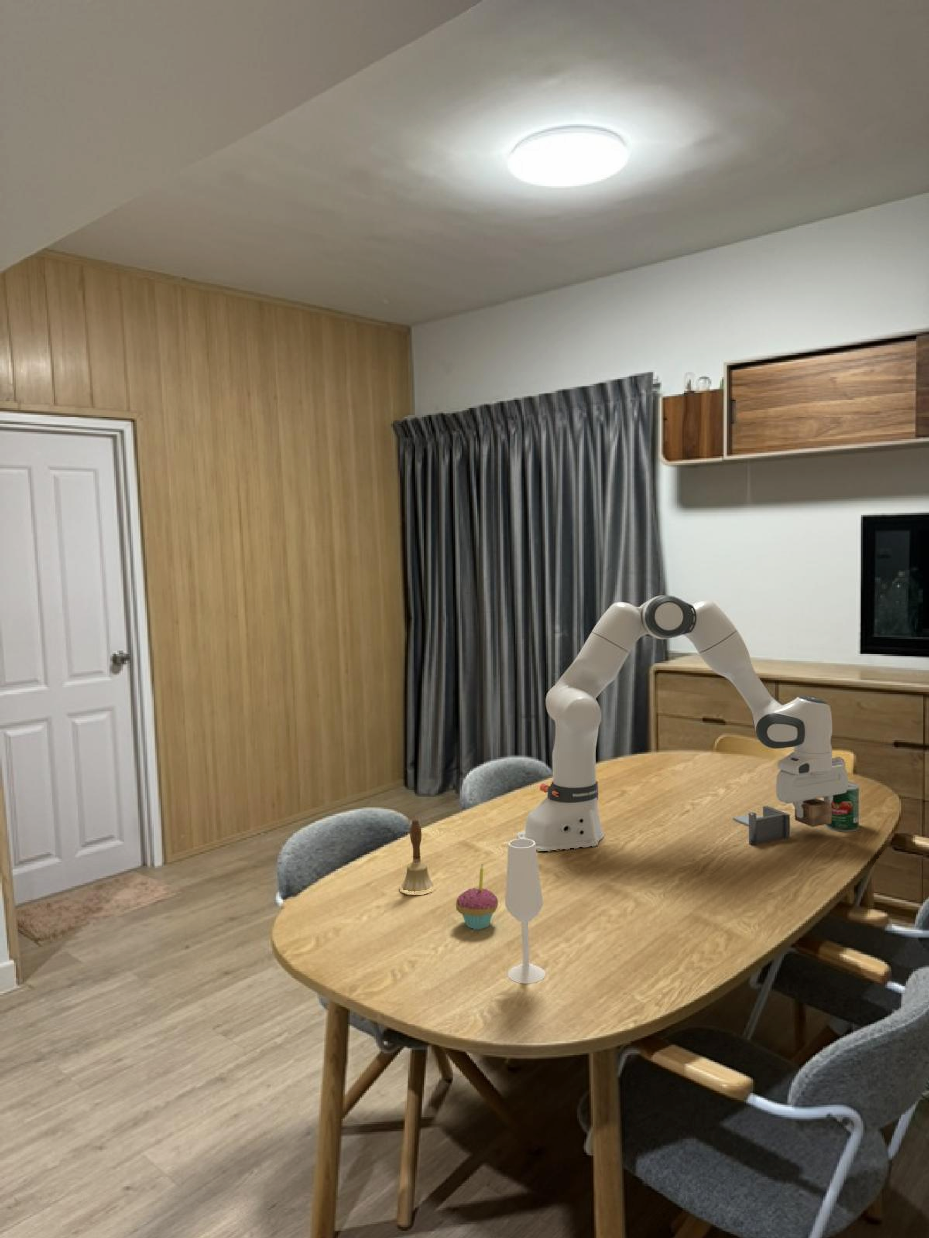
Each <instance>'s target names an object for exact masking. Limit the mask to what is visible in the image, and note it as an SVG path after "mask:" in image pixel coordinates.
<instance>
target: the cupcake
mask: <svg viewBox="0 0 929 1238" xmlns="http://www.w3.org/2000/svg"><path fill="white" fill-rule="evenodd" d="M483 865H484V863H482V864H481V867H480V868H479V880H478V881H479V882H478V885H479V886H478V888H475V887H472V888H469V889H467V890H466V891H464V892H463V893H461V894H459V896H458V898H456V903H455V908H456V911H457V912H458V913H459V914H461V915H462V918H463V919H464V922H465V926H466V925H467V926H468V927H470V928H469V929H471V928H473V929H472V930H483V928H484V929H486V928H489V926H490V924H491V921H492V920H491V919H492V917H493V914H494V913H495V912H496V910H497V908H498V905H499V900H498V897H497V896H496V895H495V894H494V892H492V891H491V890H488V889H487V888H483V879H484V868H483ZM467 926H466V927H467ZM468 927H467V928H468ZM485 927H486V928H485Z"/></svg>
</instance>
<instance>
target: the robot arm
mask: <svg viewBox="0 0 929 1238" xmlns="http://www.w3.org/2000/svg"><path fill="white" fill-rule="evenodd" d="M643 636H645V637H650V638H654V639H659V640H667V639H668V640H669V639H672V638H676V637H680V636H684V637H686V638H687V639H688V640H689V641H690V642H691V643H692V644H693V646H694V647H695V649H696V651H697V653H698V654H699V655H700V657H701V658H702V659H703V661H704V662H705V664H707V666H708V667H709V668H710V669H711V670H712V671H713V672H714V673H715V674H717V675H719V676H722V677H724V678H725V679H727V680H729V681H730V683H731V684H733V685H734V687H735V688H736V690H737V692H739V694H740V696H741V698H743V700H744V701H745V703H746V704H747V706H748V708H749V710H750V712H751V718H752V725H753V727H754V729H755V733H756V737H757V739H758V740H759V742H761V744H762V745H764V746H765V747H767V748H769V749H774V750H775V749H786V748H787V749H788V748H792V747H793V752H791V753H790V754H788V755H787V756H784V758H781V759H779V760H778V761H777V763H776V764H777V766H776V767H777V769H778V770H779V771H778V773H777V776H776V782H775V783H776V784H775V786H776V787H775V790H776V791H775V796H776V798H777V800H779V801H780V802H783V803H785V804H792V805H793V807H794V810H795V809H796V815H797V817H799V818H804V817H806V811H805V810H803V809H802V806H801V805H803V801H805V800H810V799H816V798H817V799H821V798H823V800H822V801H825V802H828V803H831V802H832V800H833V795H838V794H843V793H846V792H847V789H848V782H849V779H848V771H847V768H846V761H845V760H844V758H842V757H841V756H835V757H833V747H832V744H831V739H832V735H833V718H832V717H833V716H832V715H833V714H832V710H831V706H830V705H829V703H828V702H827V701H826V700H824V699H823V698H821V697H820V698H819V697H816V696H812V695H798V696H797V697H796V698H795V699H793V700H792V701H790V702H788V703H786V704H784V703H783V702H782V701H780V700H777V699H776V698H775V697H774V696H772V695H771V693H770V692H769V691H768V689H767V687H766V686H765V684H764V683H763V682H762V680H761V679H760V677H759V676H758V674H757V672H756V671H755V670H754V667H753V665H752V661H751V657H750V653H749V650H748V648H747V647H748V646H747V645H746V643H745V641H744V639H743V638H742V635H741V634H740V633H739V630H738V629H737V628H736V626H735V625H734V623H733V622H732V621H731V620H730V618H729V617H728V616H727V615H726V614H725V612H724V611H723V610H722V609H721V608H720V607H719V606H718V605H717V604H716V603H714V602H713V601H711V600H707V599H706V600H700V601H697V602H695V603H692V604H690V603H688V602H687V601H684V600H682V599H681V598H679V597H676V596H673V595H668V594H667V595H664V594H663V595H657V596H654V597H652V598H650V599H648V600H646V601H645V602H643V603H642V604H640V605H638V606H634V605H633V604H631V603H628V602H623V601H618V602H614V603H612V604H611V605H610V606H609V608H607V610H606V611H605V612H604V613H603V614H602V615H601V617H600V619H599V620H598V621H597V622H596V625H595V626H594V627H593V629H592V631H591V632H590V634H589V636H587V637H588V638H587V639H586V641H585V643H584V644H583V646H582V647H581V649H580V651H579V653H578V654H577V656H576V657H575V659H574V660H573V662H572V663H571V664H570V665H569V667H567V669H566V670H565V671H564V673H563V674H562V675H561V677H560V678H559V679H558V681H556V683H555V685H553V687H551V688H550V690H548V692H547V693H546V697H545V707H546V711H547V714H548V715H549V717H550V718H551V719H552V720H553V721H554V723H555V737H554V745H553V749H552V755H551V756H552V757H551V758H552V781H551V783H550V785H547V784H546V783H545V782H544V783H541V784H540V785H539V790H540V791H541V792H543V793H545V794H546V793H547V795H546V796H547V797H545V799H543V800H542V801H541V802H540V803H539V804H538V805H537V806H536V807H535V808H533V810H531V811H530V812H529V813H528V815H527V817H526V821H525V830H522V831H518V832H517V836H516V837H517V838H518V839H530V840H533V841H534V842H535V845H536V850H538V851H537V852H539V850H540V851H548V850H554V849H565V850H571V849H570V848H574V849H580V848H579V847H583V848H589V847H590V846H592V847H596V845H597V846H598V845H599V842H600V841H601V840H602V839H603V838H604V836H605V833H604V830H603V826H602V822H601V819H600V813H599V806H598V801H599V785H598V784H599V783H598V781H597V767H596V764H597V763H596V759H597V758H596V750H597V749H596V748H597V743H598V736H599V729H600V727H599V726H600V724H601V723H602V710H601V707H600V705H599V702H598V701H597V698H598V696H599V695H600V694H601V693H602V692H603V691H604V689H606V687H607V686H608V685H609V684H611V683H612V682H614V681H615V679H616V678H617V676H618V674H619V672H620V671H621V669H622V667H623V665H624V664H625V662H626V660H627V658H628V656H629V655H630V653H631V652H632V649H633V648H634V646H635V645H636V643H637V642H638V640H639V639H640V638H642V637H643ZM517 838H516V839H517ZM548 852H549V851H548Z"/></svg>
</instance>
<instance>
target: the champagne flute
mask: <svg viewBox="0 0 929 1238" xmlns="http://www.w3.org/2000/svg"><path fill="white" fill-rule="evenodd" d="M507 844H508V845H507V846H508V847H507V862H506V864H507V865H506V881H505V882H506V883H505V896H504V897H505V899H504V900H505V901H504V905H505V908H506V910H507V912H508V913H509V914H510V915H511V916H512V917H513V918H514V919H515V920H517V921H518V922H520V923H521V943H522V944H521V948H522V950H521V951H522V963H520V964H518V965H516V966H514V967H511V968H510V969H509V970H508V972H507V976H508V979H510V980H511V981H513V982H515V983H519V984H525V985H526V984H534V983H538V982H540V981H542V980H544V978H545V977H546V971H545V970H544V969H543V968H541V967H540V966H537V965H535V964H532V963H530V944H529V943H530V941H529V923H530V922H531V921H533V919H534V918H535V917H537V916H538V915H539V913H540V912H541V910H542V909H543V905H544V901H543V892H542V884H541V878H540V870H539V861H538V854H537V851H536V845H535V842H534V841H533V840H530V839H517V838H516V839H512V840H510V841H508V843H507Z"/></svg>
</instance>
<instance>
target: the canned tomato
mask: <svg viewBox="0 0 929 1238" xmlns="http://www.w3.org/2000/svg"><path fill="white" fill-rule="evenodd" d="M859 804H860V786H859V784H857V783H855V782H852V781H848V789H847V792H846V793H843V794H838V795H833V800H832V802H831V823H830V824H825V826H826V827H827V828H828V829H830V830H832V831H837V832H855V831H857V830H859V829H860V826H859V825H860V824H859V823H860V819H859V816H860V805H859Z"/></svg>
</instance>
